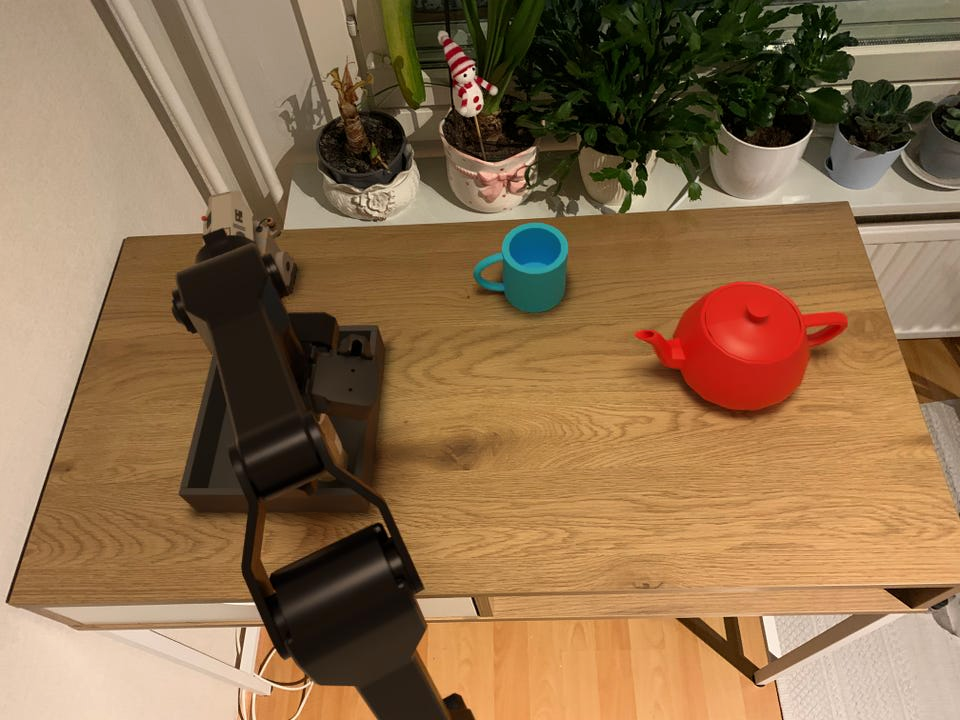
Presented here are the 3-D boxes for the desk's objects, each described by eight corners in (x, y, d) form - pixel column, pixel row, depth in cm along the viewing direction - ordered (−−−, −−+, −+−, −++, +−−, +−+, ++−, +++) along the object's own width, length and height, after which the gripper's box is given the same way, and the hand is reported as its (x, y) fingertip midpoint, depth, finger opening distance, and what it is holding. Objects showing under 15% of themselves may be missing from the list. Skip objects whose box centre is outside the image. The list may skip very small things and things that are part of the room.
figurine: (218, 328, 95) (171, 255, 83) (237, 259, 101) (195, 182, 89) (286, 328, 95) (249, 255, 82) (301, 259, 101) (268, 181, 88)
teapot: (804, 301, 93) (840, 239, 82) (849, 408, 85) (895, 354, 74) (611, 324, 93) (622, 265, 82) (638, 434, 84) (654, 383, 74)
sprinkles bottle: (354, 451, 82) (328, 389, 70) (340, 487, 79) (311, 429, 68) (317, 442, 82) (285, 379, 71) (301, 478, 80) (266, 419, 69)
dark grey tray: (368, 512, 81) (359, 494, 76) (198, 512, 82) (178, 494, 78) (385, 349, 92) (378, 324, 88) (235, 350, 93) (219, 326, 89)
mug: (560, 260, 98) (562, 219, 91) (569, 309, 94) (573, 270, 87) (472, 269, 98) (468, 229, 91) (477, 319, 94) (474, 281, 87)
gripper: (351, 460, 57) (384, 524, 70) (374, 272, 67) (399, 360, 80) (213, 460, 58) (271, 524, 71) (255, 274, 67) (300, 361, 81)
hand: (316, 437), depth 76 cm, fingers closed on sprinkles bottle, 4 cm apart
